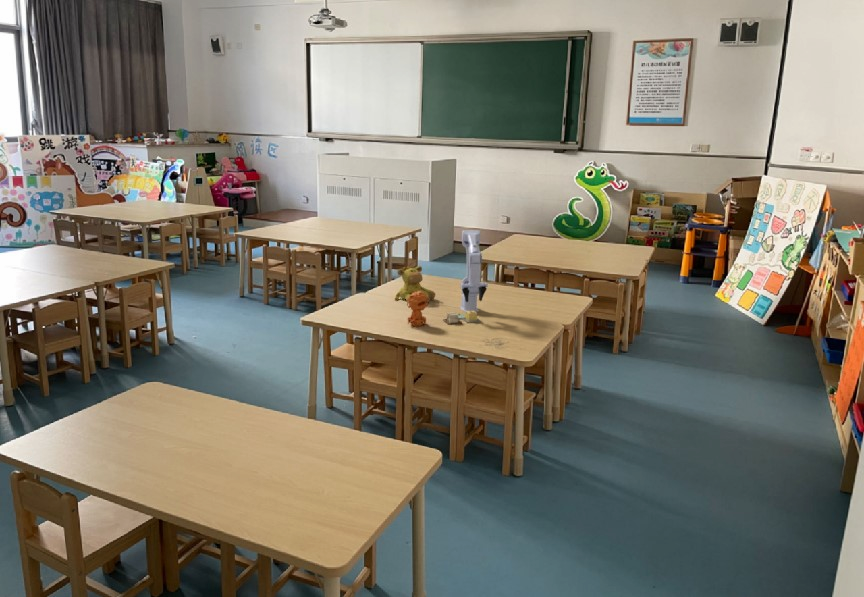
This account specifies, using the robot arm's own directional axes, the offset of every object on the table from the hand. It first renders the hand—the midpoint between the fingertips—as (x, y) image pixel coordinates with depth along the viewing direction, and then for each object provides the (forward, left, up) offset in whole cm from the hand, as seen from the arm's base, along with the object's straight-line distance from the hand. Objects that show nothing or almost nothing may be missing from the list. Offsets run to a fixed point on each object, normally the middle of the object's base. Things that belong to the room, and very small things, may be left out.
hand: (473, 301), depth 349 cm
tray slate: (+3, -2, -10) cm, 10 cm away
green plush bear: (-44, -18, -10) cm, 49 cm away
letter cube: (+3, -2, -9) cm, 10 cm away
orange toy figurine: (+2, -31, -10) cm, 33 cm away
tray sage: (-5, -8, -10) cm, 13 cm away
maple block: (+3, -13, -9) cm, 16 cm away
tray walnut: (+3, -13, -10) cm, 16 cm away
